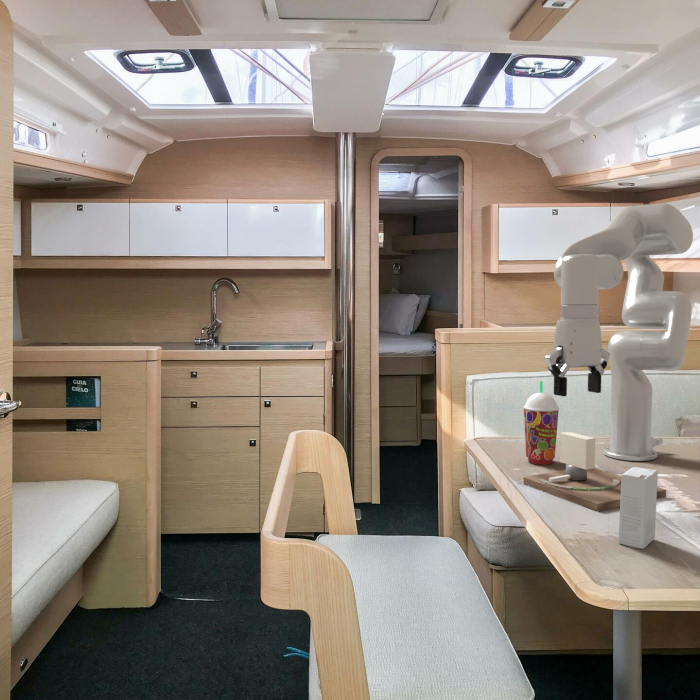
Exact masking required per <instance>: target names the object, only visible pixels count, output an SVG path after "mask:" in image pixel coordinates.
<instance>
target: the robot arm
mask: <svg viewBox="0 0 700 700" xmlns="http://www.w3.org/2000/svg"><path fill="white" fill-rule="evenodd" d="M693 233H694V232H693V228H692V225H691V224H690V222H689V221H688V219H687V218H686V217H685V216H684V215H683V213H682V212H681V211H680V210H679V209H678V208H677V207H675V206H674V205H672V204H671V203H668V202H667V203H665V202H663V203H662V202H661V203H660V202H659V203H649V204H637V205H631V206H627V207H624V208H622V209H620V210H619V211H618V212H617V213H616V214H615V216H614V217H613V218H612V219H611V220H610V222H608V224H607V225H606V226H605V227H604V228H603V230H601V231H598V232H596V233H594V234H592V235H589V236H587V237H585V238H582V239H580V240H578V241H576V242H574V243H572V244H571V245H570V246H568V247H567V248H566V249H565V250H564V251H563V252H562V253H561V255H560V256H559V258H558V259H557V261H556V263H555V265H554V268H553V278H554V282H555V283H556V285H557V286H558V287H559V288H560V319H557V322H556V325H555V328H554V329H555V330H554V336H553V343H552V351H551V352H549V353H548V354H547V355H546V356H545V357H544V361H545V362H546V365H547V369H548V371H550V374H551V376H552V377H553V396H560V397H567V395H568V392H567V391H568V379H567V377H566V374H567V373H568V371H569V370H570V368H571V369H573V368H576V369H577V368H587V369H588V370H589V372H588V374H587V391H588V392H590V393H596V394H600V393H602V375H603V374H605V369H606V367H607V366H608V362H609V365H610V372H611V373H610V375H611V377H610V379H611V385H610V387H611V388H610V389H611V393H610V395H611V397H610V432H609V433H610V438H609V439H610V441H609V443H610V444H609V445H608V446H606V447H603V454H604V455H605V456H607V457H609V458H612V459H616V460H621V461H622V460H623V461H628V462H629V461H633V462H644V461H645V462H646V461H652V460H655V459H657V458H658V452H657V451H656V450H654V447H655V446H656V447H657V446H661V445H663V444H664V441H663V438H662V437H660V436H659V437H653V436H652V417H653V415H652V413H653V386H652V383H651V381H650V380H649V378H648V376H647V375H646V374H645V372H644V371H661V372H674V371H677V370H679V369H680V368H681V367H682V366H683V364H684V360H685V358H686V351H687V344H688V340H689V333H690V327H691V321H692V311H693V310H692V302H691V300H690V297H689V296H688V295H687V294H686V293H684V292H682V291H676V290H674V291H673V290H663V287H664V281H665V275H664V272H663V271H662V269H661V268H660V266H659V265H658V264H657V263H656V262H655V261H654V260H653V259H652V258H651V256H659V255H660V256H665V255H668V256H669V255H679V254H680V255H682V254H684V253H686V252H688V251H689V250H690V248H691V247H692V243H693V239H694V234H693ZM622 261H624V264H625V267H626V270H627V284H626V288H625V293H624V298H623V304H622V309H621V310H622V311H621V320H622V323H623V325H625V326H626V327H628V328H631V329H641V330H622V331H621V330H620V331H618V332H616V333H614V334H613V335H612V336H611V337H610V338H609V340H608V344H607V350H606V349H604V348H603V347H602V346H603V345H602V343H603V342H602V331H601V324H600V320H599V313H600V308H599V290H610V289H614V288H615V287H617V286H618V285H619V284H620V283H621V282H622V279H623V277H624V266H623V262H622ZM648 330H649V331H648ZM650 330H653V331H650ZM654 330H664V331H654Z"/></svg>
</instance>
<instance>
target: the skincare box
mask: <svg viewBox="0 0 700 700" xmlns="http://www.w3.org/2000/svg"><path fill="white" fill-rule="evenodd" d="M658 473H659V471H658V470H656V469H651V468H643V467H636V466H633V467H631V468H630V469H628V470H627V471H625V472H624V473H622V474H621V476H622V480H621V498H620V507H619V523H618V524H619V526H618V527H619V528H618V544H620V545H623V546H625V547H626V546H627V547H632V548H635V549H640V550H642V549H644V550H645V548H646V547H648V545H649V544H650V543H652V541H653V540H655V538H656V525H657V524H656V521H657V519H656V518H657V499H656V498H657V487H658V475H659V474H658Z"/></svg>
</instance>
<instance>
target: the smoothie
mask: <svg viewBox="0 0 700 700" xmlns="http://www.w3.org/2000/svg"><path fill="white" fill-rule="evenodd" d="M543 385H544V384H543V380H540V381H539V392H535V393H533V394H531V395H530V396H528V398H527V399H526V402H525V403H524V405H523V424H524V425H523V426H524V437H525V438H524V439H525V441H524V443H525V456H526V458H527V460H528V462H529V463H531V464H533V465H538V466H539V465H540V466H544V465H545V466H546V465H551V464H552V463H553V461H554V459H555V458H556V449H557V448H556V447H557V446H556V445H557V436H558V425H559V423H558V422H559V421H558V420H559V409H560V407H559V406H558V403H557V402H556V400H555V398H554V397H553V396H552V395H551V394H548V393H546V392H544V391H543V389H544V388H543V387H544V386H543Z"/></svg>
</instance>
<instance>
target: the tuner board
mask: <svg viewBox="0 0 700 700" xmlns="http://www.w3.org/2000/svg"><path fill="white" fill-rule="evenodd" d="M563 475H566V469H564V470H559V471H558V470H557V471H552V472H546V473H540V474H534V475H528V476H523V480H522V481H523V482H522V483H524V484H523V485H525V484H526V485H525V486H528V485H529V487H530V486H531V488H533V487H534V488H533V489H536V490H538V489H539V491H541V490H542V492H543V493H546V492H547V494H549V495H553V496H555V497H558V498H560V499H562V500H565V501H568V502H570V503H573V504H575V505H578V506H582V507H584V508H586V507H587V508H586V509H589V510H592V511H594V510H595V512H597V511H598V512H602V511H606V510H611V509H616V508H620V498H621V480H622V475H618V474H616V473H612V472H608V471H605V470H604V469H603V470H602V469H598V468H596V467H595V468H592V469H587V479H586V480H571V479H565V480H559V481H554V482H551V481H549V478H552V477H557V476H563ZM662 498H667V489H665V488H661V487H658V486H657V498H656V500H657V499H662Z"/></svg>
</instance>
